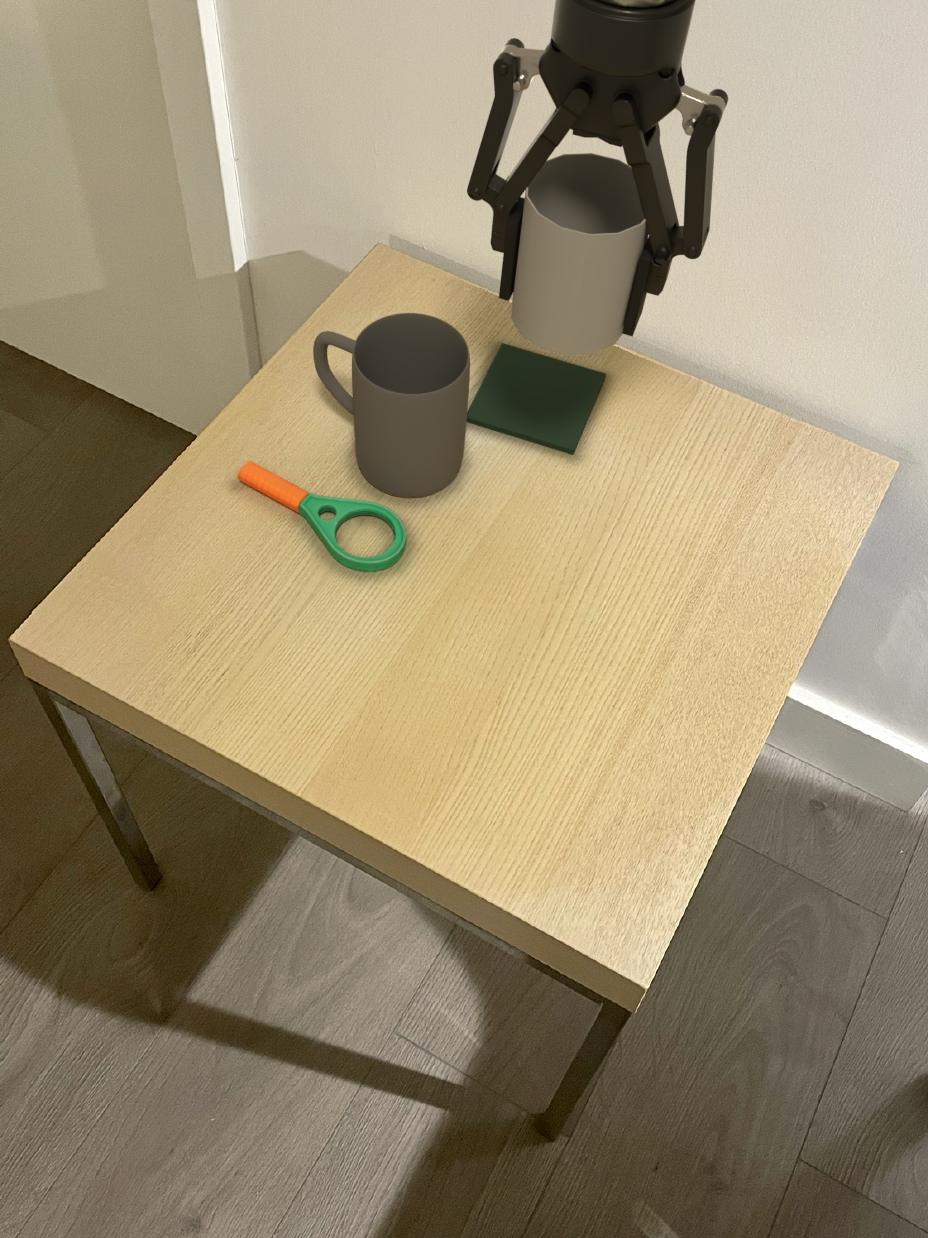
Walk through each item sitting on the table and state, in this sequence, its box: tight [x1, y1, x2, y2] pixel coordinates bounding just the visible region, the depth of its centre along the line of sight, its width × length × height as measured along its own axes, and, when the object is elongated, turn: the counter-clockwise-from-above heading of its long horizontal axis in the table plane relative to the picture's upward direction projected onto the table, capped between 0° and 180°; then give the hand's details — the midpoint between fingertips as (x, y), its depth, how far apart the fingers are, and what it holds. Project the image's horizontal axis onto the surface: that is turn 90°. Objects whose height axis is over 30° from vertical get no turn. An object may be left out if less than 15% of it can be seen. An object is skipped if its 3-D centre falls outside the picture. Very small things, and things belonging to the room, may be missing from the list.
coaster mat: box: [466, 342, 607, 456], centre depth 95 cm, size 10×10×1 cm
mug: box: [312, 312, 471, 499], centre depth 86 cm, size 14×9×12 cm
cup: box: [510, 152, 649, 357], centre depth 73 cm, size 8×8×10 cm
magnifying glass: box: [237, 460, 407, 573], centre depth 86 cm, size 15×6×2 cm, turn 59°
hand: (570, 304), depth 76 cm, fingers closed on cup, 8 cm apart
